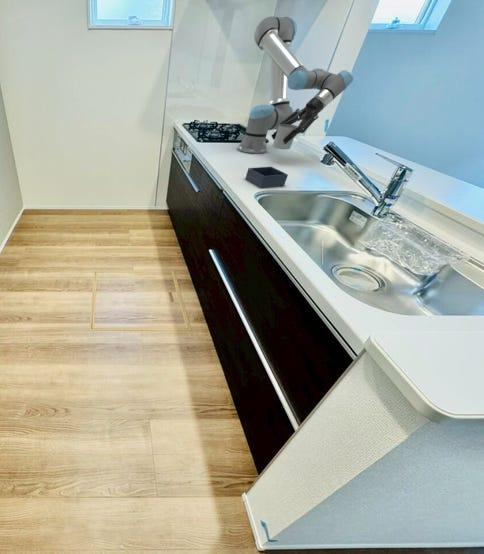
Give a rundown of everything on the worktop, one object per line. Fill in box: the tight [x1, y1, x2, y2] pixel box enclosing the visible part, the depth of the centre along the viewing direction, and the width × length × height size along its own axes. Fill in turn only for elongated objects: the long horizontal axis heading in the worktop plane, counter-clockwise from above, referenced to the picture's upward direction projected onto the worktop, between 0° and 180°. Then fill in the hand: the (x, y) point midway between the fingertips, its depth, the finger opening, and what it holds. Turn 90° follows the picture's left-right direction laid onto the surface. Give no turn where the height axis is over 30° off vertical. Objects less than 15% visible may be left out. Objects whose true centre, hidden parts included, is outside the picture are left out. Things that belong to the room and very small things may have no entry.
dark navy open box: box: [245, 166, 289, 189], centre depth 132 cm, size 12×12×5 cm
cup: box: [272, 124, 299, 150], centre depth 151 cm, size 8×8×10 cm
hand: (278, 139), depth 151 cm, fingers closed on cup, 8 cm apart
